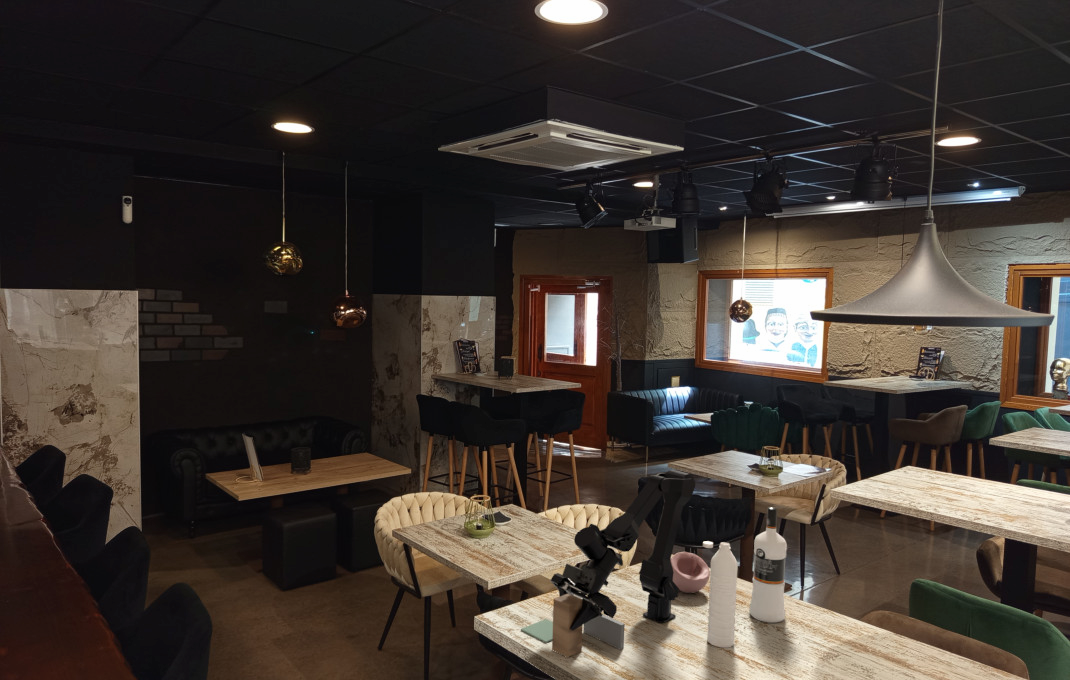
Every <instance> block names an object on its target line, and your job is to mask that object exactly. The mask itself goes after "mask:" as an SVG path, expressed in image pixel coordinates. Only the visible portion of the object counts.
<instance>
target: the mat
mask: <svg viewBox="0 0 1070 680" xmlns="http://www.w3.org/2000/svg"><path fill="white" fill-rule="evenodd" d="M520 631H521V632H523V633H525V634H527V635H529V636H531V637H532V638H535V639H537V640H539V641H541V640H542V641H541V642H543V641H544V642H543V643H545V642H547V643H549V641H550V642H552V636H553V620H550V619H547V618H545V619H542V620H539V621H537V622H535V623H532V624H529V625H527V626H525V627H522V628H520Z"/></svg>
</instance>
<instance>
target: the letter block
mask: <svg viewBox="0 0 1070 680" xmlns="http://www.w3.org/2000/svg"><path fill="white" fill-rule="evenodd" d="M581 607H582V599H580V598H578V597H575V596H573V595H570V594H565V595H563V596H560V595H559V596H557V597H555V598H553V608H552V609H553V611H552V622H553V636H552V641H551V651H552V650H554V651H556V652H558V653H560V654H562V655H564V656H566V657H568V658H570V657H569V656H571V655H573V656H575V655H578V653H581V652H582V650H583V649H582V648H583V627H584V624H583V625H582V626H580V627H578V628H577V629H575V630H574V631H572V630H571V629H570V627H571V625H572V622H573V621H574V619H575V617H576V616H577V614H578V612H579V611H580V609H581ZM554 651H553V652H554ZM556 652H555V653H556ZM558 653H557V654H558ZM560 654H559V655H560ZM574 654H575V655H574ZM562 655H561V656H562ZM564 656H563V657H564ZM566 657H565V658H566ZM571 657H572V656H571Z"/></svg>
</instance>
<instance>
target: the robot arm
mask: <svg viewBox="0 0 1070 680" xmlns="http://www.w3.org/2000/svg"><path fill="white" fill-rule="evenodd" d="M695 488H696V480H695V478H694V476H693V475H692V474H691V473H687V472H683V471H679V470H676V469H669V470H668V471H667V472H659V473H657V474H651V475H649V476H648V478H647V479H646V483H645V485H644V486H643V488H642V489H641V490H640V491H639V493H638V494H637V496H636V497H635V499H634V500H633V501H632V503H631V504H630V506H628V507H627V509H626V510H625V512H624V513H622V515H619V516H618V517H615V518H614V519H613V520H611V522H610V523H608V525H607V526H606V527H605V528H602V529H601V530H600V528H599V527H598V525H596V524H595V523H590V524H589V525H588V526H586V527H583V528H581V529H580V530H579V531H577V532H576V534H575V536H574V539H573V540H574V544H575V546H576V547H577V548H578V549H579V550H580V551H581V552H582V553H583V555H584V556H585V557H586V558H587V559H588V560H590V561H589V562H588V563H587V564H585V563H584V564H582V565H581V566H580V567H577V566H575V565H571V564H569V563H566V564H565V566H564V569H563V572H562V574H561V573H559V572H557V573H554V574H553V576H552V577H551V579H550V580H549V581H550V582H551V584H552V586H554V587H555V588H556V589H557V590H558V595H559V597H560V596H563V595H565V594H570V595H574V594H575V595H577V596H579V597H581V598H583V599H582V607H581V609H580V611H579V612H578V614H577V616H576V617H575V619H574V621H573V622H572V625H571V627H570V629H571V630H572V631H574V630H575V629H577V628H578V627H580V626H582V625H583V626H584V624H585V623H586V622H588V621H590V620H592V619H594V618H596V617H598V616H602V614H603V615H605V616H608V617H610V618H612V619H614V617H615V616H616V613H617V608H618V607H617V605H616V604H615V602H614V601H613V600H612V599H611V598H610V597H609V596H608V595H606V594H605V593H601V592H600V591H601V590H602V588H603V586H605V587H608V585H609V581H608V578H609V576H610V575H611V573H612V572H613V570H614V568H615V567H616V565H618V566H620V567H622V566H624V561H623V554H621V553H619V552H617V551H615V549H616V550H618V551H620V552H624V553H626V552H627V553H628V552H630V551H631V550H632V549H633V548H634V546H635V544H636V542H637V540H638V538H639V536H640V527H641V525H642V524H643V522H644V521H645V519H646V518H647V517H648V515H649V514H650V513H651V511H652V510H653V509H654V507H655V506H656V505H657V503H658V502H659V500H660V499H661V497H662V496H663V502H664V503H663V507H662V511H661V512H662V513H661V516H660V518H659V519H660V520H659V524H658V527H657V528H658V529H657V533H656V536H655V540H654V545H653V549H652V553H651V555H650V556H649V557H648V558H647V559H645V558H643V559H642V560H641V564H640V565H641V566H640V570H639V572H638V574H639V578H638V579H639V582H640V585H641V588H642V591H643V592H645V593H649V594H648V599H647V610H646V611H645V612H644V613H642V616H643V617H645V618H648V619H650V620H653V621H655V622H657V623H659V624H664V623H666V622H668V621H670V620H672V619H675V618H676V616H677V615H676V614H674V613H672V601H675V600H676V598H678V597H679V593H680V590H679V588H678V587H677V586H676V584H675V583H674V582H673V573H674V572H673V568H672V564H671V558H672V556H673V555H672V554H673V550H674V546H675V542H676V537H677V534H678V529H679V526H680V525H679V524H680V520H681V516H682V513H683V508H684V506H685V505H687V503H688V502H689V501H690V500H691V499H692V497H693V494H694V491H695ZM568 578H569V579H570V580H571V581H572V582H573V583H574V584H575V585H574V584H573V583H572V582H571V581H570V580H569V579H568ZM579 592H581V593H579ZM602 612H603V613H602ZM583 626H582V627H583Z"/></svg>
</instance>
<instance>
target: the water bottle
mask: <svg viewBox="0 0 1070 680" xmlns="http://www.w3.org/2000/svg"><path fill="white" fill-rule="evenodd" d="M702 547H704V548H706V549H712V548H714V542H713V541H709V540H707V541H703V542H702ZM718 547H719V549H718V550H717V551H716V552H715V554H714V555H713V556H712V557H711V560H710V570H709V571H710V576H709V579H710V580H709V592H708V593H709V594H708V617H707V621H708V623H707V634H706V635H707V636H706V638H707V639H706V640H707V642H708V643H709V644H710V645H712V646H713V647H717V648H730V647H733V646H734V644H735V631H736V630H735V629H736V627H735V625H736V624H735V623H736V617H735V616H736V608H737V605H736V604H737V583H738V570H739V569H738V561H737V559H736V557H735V555H734V554H733V552H732V551H731V544H730V542H725V541H723V542H720V543H719V546H718Z"/></svg>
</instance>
